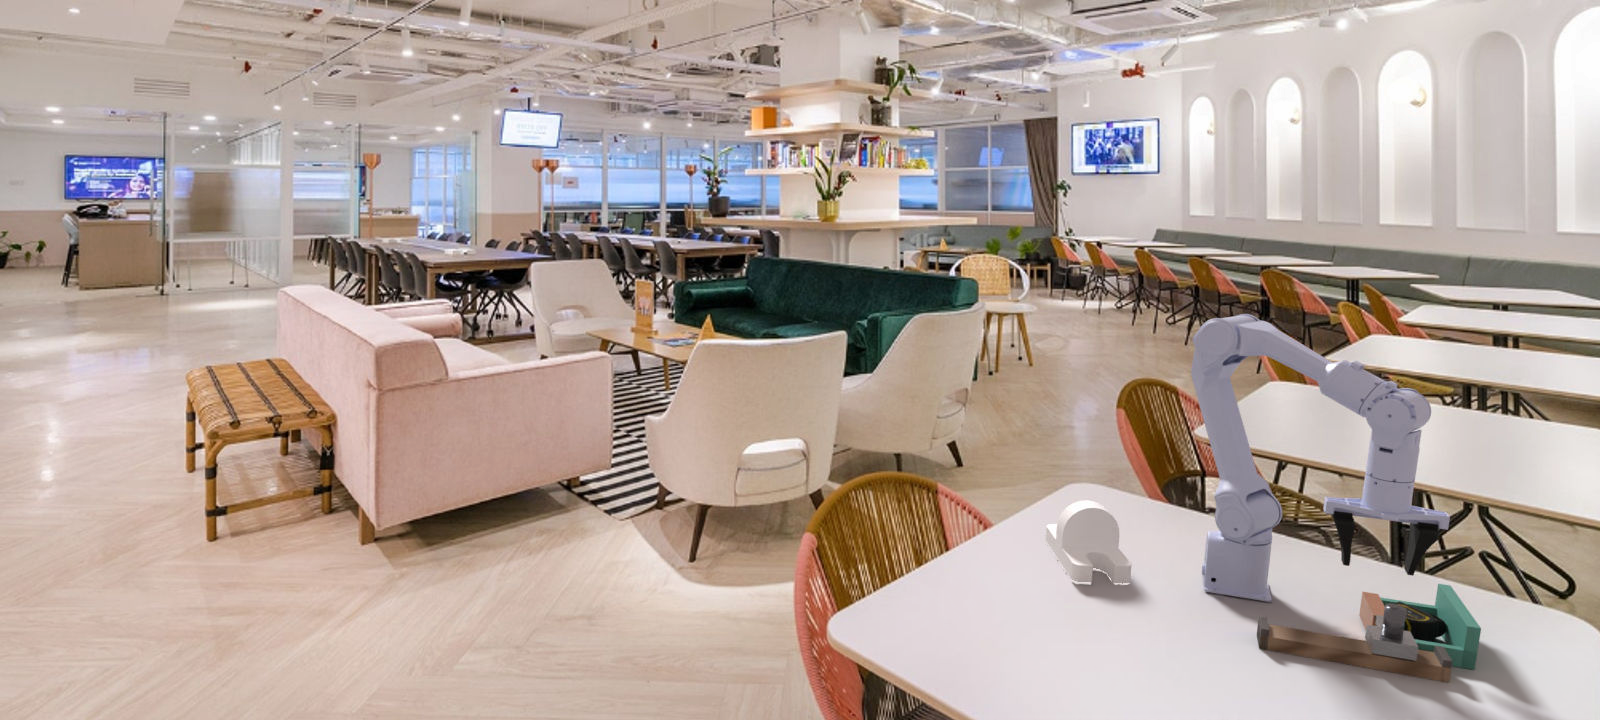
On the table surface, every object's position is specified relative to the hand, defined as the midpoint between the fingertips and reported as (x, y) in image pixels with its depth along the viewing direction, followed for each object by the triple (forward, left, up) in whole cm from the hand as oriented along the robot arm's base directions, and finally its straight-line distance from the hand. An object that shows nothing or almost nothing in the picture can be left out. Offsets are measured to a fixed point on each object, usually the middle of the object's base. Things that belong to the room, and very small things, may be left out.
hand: (1376, 567), depth 123 cm
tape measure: (+6, +3, -11) cm, 12 cm away
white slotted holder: (-40, +10, -11) cm, 43 cm away
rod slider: (+1, -3, -10) cm, 10 cm away
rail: (-4, -9, -10) cm, 14 cm away
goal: (+6, +1, -10) cm, 12 cm away
